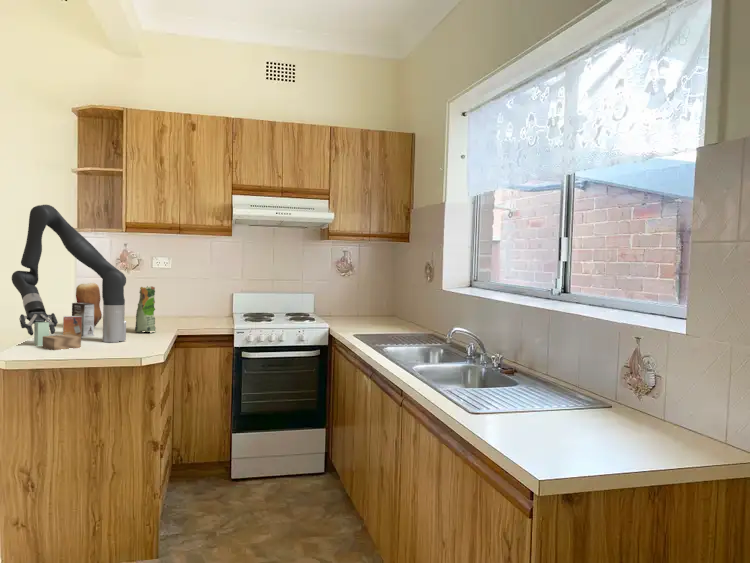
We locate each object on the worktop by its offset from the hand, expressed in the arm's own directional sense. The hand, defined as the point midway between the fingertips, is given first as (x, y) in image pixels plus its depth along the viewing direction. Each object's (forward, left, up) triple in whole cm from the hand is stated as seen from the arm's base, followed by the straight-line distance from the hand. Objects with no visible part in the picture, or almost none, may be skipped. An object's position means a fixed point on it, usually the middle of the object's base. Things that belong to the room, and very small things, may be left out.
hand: (42, 333), depth 257 cm
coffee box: (-27, -25, -5) cm, 37 cm away
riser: (-4, +11, -6) cm, 13 cm away
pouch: (-56, -17, -5) cm, 59 cm away
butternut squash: (-40, -50, -5) cm, 65 cm away
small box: (-19, -17, -5) cm, 26 cm away
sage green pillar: (0, -1, -5) cm, 5 cm away
